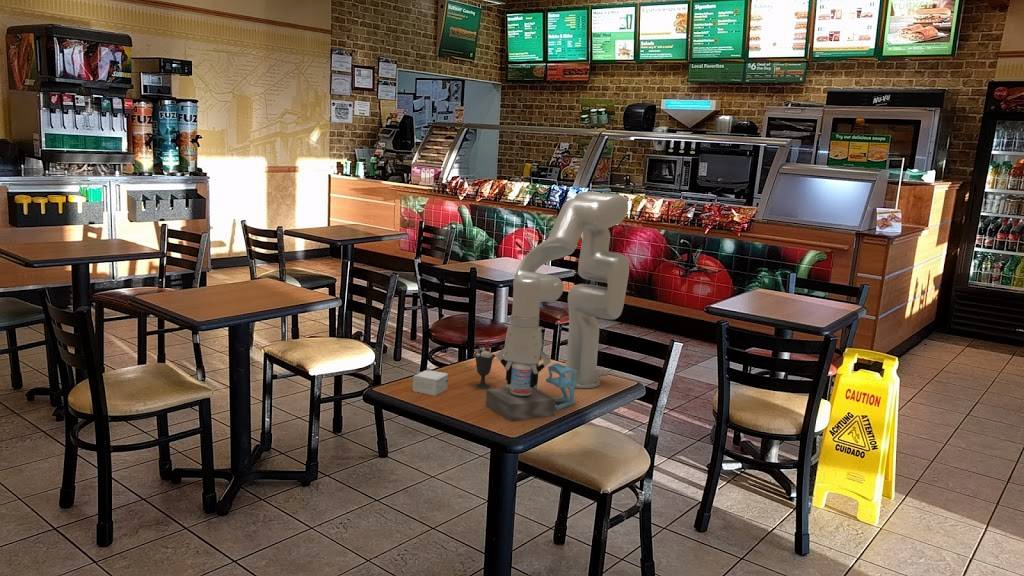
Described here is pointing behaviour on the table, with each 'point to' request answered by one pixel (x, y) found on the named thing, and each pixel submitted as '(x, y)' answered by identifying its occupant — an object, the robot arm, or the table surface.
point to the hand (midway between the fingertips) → (521, 384)
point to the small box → (430, 382)
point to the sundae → (483, 364)
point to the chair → (562, 383)
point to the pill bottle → (521, 379)
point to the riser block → (520, 404)
